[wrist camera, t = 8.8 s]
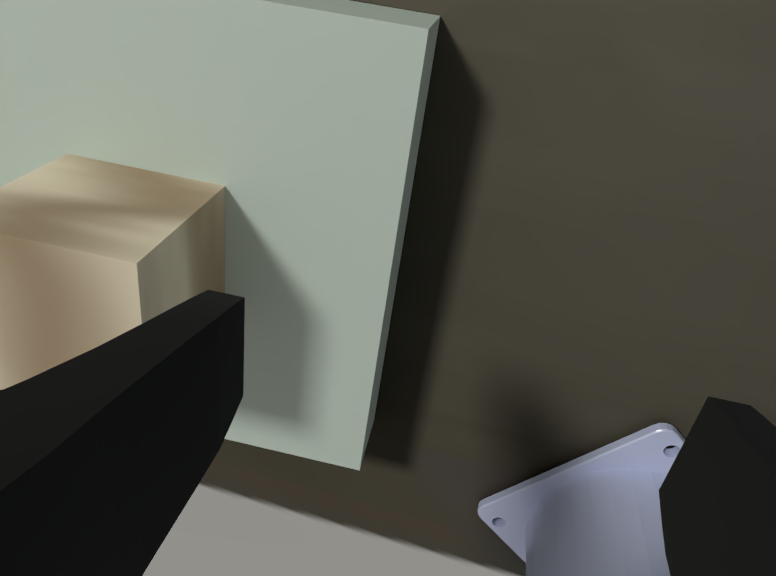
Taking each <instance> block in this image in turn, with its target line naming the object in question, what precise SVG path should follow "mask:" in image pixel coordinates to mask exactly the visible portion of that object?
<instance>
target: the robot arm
mask: <svg viewBox="0 0 776 576" xmlns="http://www.w3.org/2000/svg"><path fill="white" fill-rule="evenodd" d="M244 318H245V297H240V296H236V295H231V294H226V293H222V292H217V291H212V290H207V291H204V292H202V293H200V294H198V295H196V296H194V297H192V298H190V299H188V300H186V301H184V302H182V303H180V304H178V305H176V306H175V307H173V308H171V309H169V310H167V311H165V312H163V313H161V314H159V315H158V316H156V317H154V318H152V319H150V320H148V321H146V322H144V323H142V324H141V325H139V326H137V327H135V328H133V329H131V330H129V331H127V332H125V333H123V334H121V335H119V336H117V337H115V338H113V339H111V340H109V341H108V342H106V343H104V344H102V345H100V346H98V347H96V348H94V349H92V350H89V351H87V352H85V353H83V354H81V355H79V356H76V357H74V358H72V359H70V360H68V361H66V362H64V363H61V364H59V365H57V366H55V367H53V368H51V369H48V370H46V371H44V372H42V373H40V374H38V375H36V376H33V377H31V378H29V379H27V380H25V381H22V382H20V383H17V384H15V385H13V386H10V387H8V388H6V389H3V390H1V391H0V576H142V575H143V573H144V572H145V570H146V568H147V567H148V565H149V563H150V562H151V560H152V559H153V557H154V555H155V554H156V552H157V550H158V549H159V547H160V546H161V544H162V542H163V541H164V539H165V537H166V536H167V534H168V532H169V531H170V529H171V528H172V526H173V524H174V523H175V521H176V520H177V518H178V516H179V515H180V513H181V512H182V510H183V508H184V507H185V505H186V503H187V502H188V500H189V498H190V497H191V495H192V494H193V492H194V491H195V489H196V487H197V486H198V484H199V482H200V481H201V479H202V477H203V476H204V474H205V472H206V471H207V469H208V467H209V466H210V464H211V463H212V461H213V459H214V457H215V456H216V454H217V452H218V451H219V449H220V447H221V445H222V443H223V440H224V438H225V436H226V434H227V432H228V430H229V428H230V425H231V423H232V421H233V418H234V416H235V414H236V412H237V409H238V407H239V405H240V402H241V400H242V398H243V386H244ZM670 445H674V446H675V447H674V448H670V449H667V448H665V447H667V446H670ZM478 515H479V517H480V518H481V519H482V520H483V521H484V522H485V523H486V524H487V525H488V526H489V527H490V528H491V529H492V530H493V531H494V532H495V533H496V534H497V535H498V536H499V537H500V538H501V539H502V540H503V541H504V542H505V543H506V544H507V545H508V546H509V547H510V548H511V549H512V550H513V551H514V552H515V553H516V554H517V555H518V556H519V557H520V558H521V559H522V560H523V561H524V562H525V563H526V576H776V427H775V426H774V425H772V424H771V423H770V422H769V421H768V420H767V419H766V418H765V417H764V416H762V415H761V414H760V413H759V412H758V411H757V410H755V409H754V408H753V407H752V406H750V405H746V404H741V403H736V402H732V401H727V400H722V399H718V398H713V397H708V398H707V400H706V402H705V404H704V406H703V407H702V409H701V411H700V413H699V415H698V417H697V419H696V421H695V423H694V425H693V426H692V428H691V430H690V432H689V434H688V436H687V438H686V440H685V439H684V438H683V437H682V435H681V434H680V433H679V432H678V430H677V429H676V428H675V427H674V426H672V425H670V424H667V423H658V424H654V425H652V426H649V427H647V428H645V429H642V430H640V431H638V432H636V433H633V434H631V435H629V436H626V437H624V438H622V439H620V440H617V441H615V442H613V443H610V444H608V445H606V446H604V447H601V448H599V449H597V450H594V451H592V452H590V453H588V454H585V455H583V456H581V457H578V458H576V459H574V460H572V461H569V462H567V463H565V464H563V465H560V466H558V467H556V468H553V469H551V470H549V471H547V472H544V473H542V474H540V475H537V476H535V477H533V478H531V479H528V480H526V481H524V482H521V483H519V484H517V485H515V486H512V487H510V488H508V489H505V490H503V491H501V492H499V493H496V494H494V495H492V496H489V497H487V498H485V499H483V500H481V501H480V502H479V504H478ZM498 518H502V519H498Z"/></svg>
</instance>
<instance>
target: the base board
mask: <svg viewBox="0 0 776 576" xmlns="http://www.w3.org/2000/svg"><path fill="white" fill-rule="evenodd" d="M439 22H440V16H438V15H432V14H426V13H420V12H414V11H409V10H403V9H397V8H391V7H385V6H379V5H373V4H367V3H361V2H356V1H350V0H0V187H1V186H3V185H5V184H7V183H9V182H11V181H13V180H15V179H17V178H19V177H21V176H23V175H25V174H27V173H29V172H31V171H33V170H35V169H37V168H39V167H41V166H43V165H45V164H47V163H49V162H52V161H54V160H56V159H58V158H60V157H62V156H64V155H66V154H71V155H76V156H81V157H86V158H91V159H96V160H101V161H105V162H110V163H115V164H120V165H125V166H130V167H135V168H140V169H145V170H150V171H155V172H160V173H164V174H169V175H174V176H179V177H184V178H189V179H194V180H199V181H204V182H209V183H214V184H219V185H223V186H225V293H226V294H231V295H236V296H240V297H245V318H244V386H243V398H242V400H241V402H240V405H239V407H238V409H237V412H236V414H235V416H234V418H233V421H232V423H231V425H230V428H229V430H228V432H227V434H226V436H225V438H224V439H228V440H232V441H237V442H241V443H245V444H249V445H254V446H258V447H262V448H266V449H271V450H275V451H279V452H283V453H288V454H292V455H296V456H300V457H305V458H309V459H313V460H317V461H322V462H326V463H330V464H334V465H339V466H343V467H347V468H351V469H356V470H360V467H361V464H362V460H363V457H364V453H365V450H366V447H367V443H368V440H369V436H370V433H371V429H372V426H373V422H374V418H375V412H376V405H377V399H378V393H379V387H380V381H381V375H382V369H383V363H384V357H385V351H386V345H387V338H388V332H389V326H390V320H391V314H392V308H393V302H394V296H395V290H396V284H397V278H398V271H399V265H400V259H401V253H402V247H403V241H404V235H405V229H406V223H407V217H408V210H409V204H410V198H411V192H412V186H413V180H414V174H415V168H416V162H417V156H418V150H419V143H420V137H421V131H422V125H423V119H424V113H425V107H426V101H427V95H428V89H429V83H430V76H431V70H432V64H433V58H434V52H435V46H436V40H437V34H438V28H439Z"/></svg>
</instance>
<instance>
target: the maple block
mask: <svg viewBox="0 0 776 576" xmlns="http://www.w3.org/2000/svg"><path fill="white" fill-rule="evenodd" d="M207 290H212V291H217V292H222V293H225V186H223V185H219V184H214V183H209V182H204V181H199V180H194V179H189V178H184V177H179V176H174V175H169V174H164V173H160V172H155V171H150V170H145V169H140V168H135V167H130V166H125V165H120V164H115V163H110V162H105V161H101V160H96V159H91V158H86V157H81V156H76V155H71V154H66V155H64V156H62V157H60V158H58V159H56V160H54V161H52V162H49V163H47V164H45V165H43V166H41V167H39V168H37V169H35V170H33V171H31V172H29V173H27V174H25V175H23V176H21V177H19V178H17V179H15V180H13V181H11V182H9V183H7V184H5V185H3V186H1V187H0V389H1V390H3V389H6V388H8V387H10V386H13V385H15V384H17V383H20V382H22V381H25V380H27V379H29V378H31V377H33V376H36V375H38V374H40V373H42V372H44V371H46V370H48V369H51V368H53V367H55V366H57V365H59V364H61V363H64V362H66V361H68V360H70V359H72V358H74V357H76V356H79V355H81V354H83V353H85V352H87V351H89V350H92V349H94V348H96V347H98V346H100V345H102V344H104V343H106V342H108V341H109V340H111V339H113V338H115V337H117V336H119V335H121V334H123V333H125V332H127V331H129V330H131V329H133V328H135V327H137V326H139V325H141V324H142V323H144V322H146V321H148V320H150V319H152V318H154V317H156V316H158V315H159V314H161V313H163V312H165V311H167V310H169V309H171V308H173V307H175V306H176V305H178V304H180V303H182V302H184V301H186V300H188V299H190V298H192V297H194V296H196V295H198V294H200V293H202V292H204V291H207Z"/></svg>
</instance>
